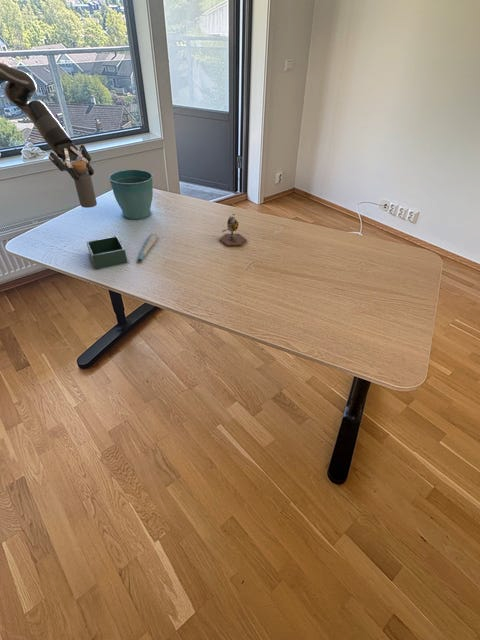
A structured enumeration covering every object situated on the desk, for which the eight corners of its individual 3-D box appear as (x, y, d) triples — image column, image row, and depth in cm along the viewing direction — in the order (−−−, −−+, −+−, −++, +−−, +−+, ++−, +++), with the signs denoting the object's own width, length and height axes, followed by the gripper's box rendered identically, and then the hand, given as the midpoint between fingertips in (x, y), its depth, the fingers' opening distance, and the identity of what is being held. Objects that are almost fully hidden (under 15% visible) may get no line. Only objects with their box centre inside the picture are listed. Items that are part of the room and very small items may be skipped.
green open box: (95, 269, 122) (92, 256, 119) (89, 255, 130) (86, 241, 126) (127, 263, 127) (124, 249, 123) (120, 249, 134) (117, 235, 130)
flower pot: (116, 207, 162) (109, 169, 151) (155, 205, 166) (151, 168, 155) (115, 224, 149) (107, 184, 138) (158, 221, 153) (153, 182, 142)
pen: (150, 238, 141) (149, 232, 139) (158, 239, 141) (157, 232, 139) (135, 263, 127) (134, 256, 125) (143, 264, 126) (142, 257, 125)
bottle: (94, 208, 128) (84, 166, 118) (78, 207, 128) (67, 165, 118) (99, 202, 132) (90, 160, 123) (83, 201, 132) (73, 159, 122)
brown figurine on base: (229, 232, 148) (229, 205, 140) (248, 238, 145) (250, 210, 137) (216, 243, 140) (216, 215, 132) (237, 249, 138) (238, 221, 130)
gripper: (36, 129, 111) (71, 175, 115) (74, 122, 121) (104, 165, 124) (31, 144, 117) (65, 188, 120) (68, 136, 126) (97, 177, 130)
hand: (85, 176), depth 122 cm, fingers closed on bottle, 5 cm apart
